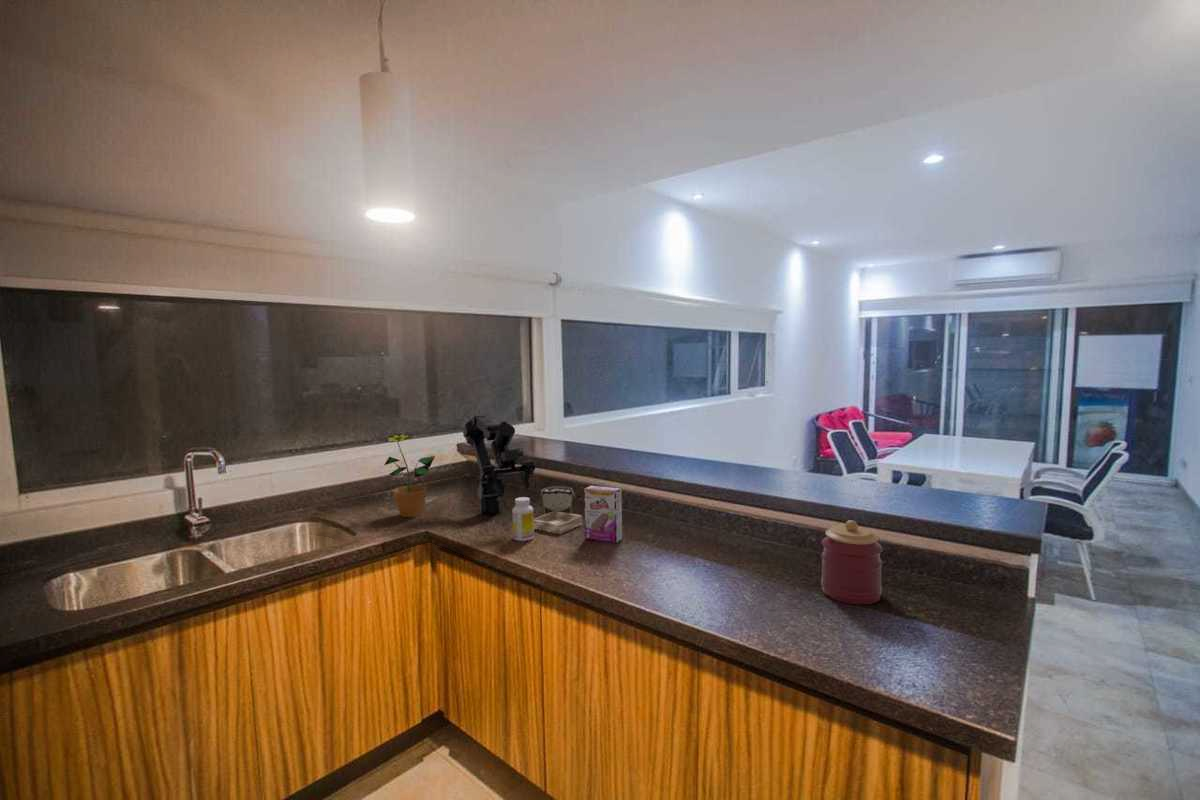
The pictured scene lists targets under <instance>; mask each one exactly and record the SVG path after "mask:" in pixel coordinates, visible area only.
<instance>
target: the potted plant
mask: <svg viewBox="0 0 1200 800" xmlns="http://www.w3.org/2000/svg"><path fill="white" fill-rule="evenodd" d="M409 436H410V435H409V434H407V433H406V434H405V433H399V434H394V435H389V436H388V437H387V438H386V439H385V442H390V443H397V445H398V447H399V448H398V449H399V451H400V453H401V456H402V458H403V459H402V460H403V461H404V465H405V466H402V467H401V466H399V465H398V464H397V463H396V462H400V461H401V460H400V459H397V458H395V457H391V456H389V457H388V458H387V460H386V461H385V463H384V466H386V465H390V464H392V463H393V464H395V466H396V467H397V469H395V470H393V471H392V472H390V473H389V474H388V476H395V477H396V475H398V474H400V473H402V472H403V471H405V470H406V472H407V477H408V485H404V486H398V487H395V488H394V489H392V491H391V492H392V494H393V497H394V500H395V503H396V505H397V508H398V511H399V514H400V517H402V518H403V517H409V519H410V517H412V518H417V516H418V517H420V516H422V514H423V510H424V504H425V500H426V495H427V490H428V486H427V485H424V484H423V485H422V484H411V476H412V474H414V478H415V479H416V478H419V477H422V476H424V475H428V474H429V473H430V472H429V468H431V467H432V466H431V465H432V464H433V461H434V460H435V457H436V456H435V455H431V456H427V457H421V458H419V459H418V460H417V463H416V465H415V466H414V469H413V470H412V472H411V473H410V471H409V467H408V464H407V461H406V459H405V456H404V454H403V452H402V449H401V447H400V443H399V442H400V441H405V440H407V439H408V437H409ZM418 463H421V464H423V465H422V466H419V467H417V466H418ZM419 515H420V516H419Z"/></svg>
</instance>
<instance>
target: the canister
mask: <svg viewBox="0 0 1200 800" xmlns="http://www.w3.org/2000/svg"><path fill="white" fill-rule="evenodd" d="M824 533H825V535H826V537H824V538H823V539H822V540H821V545H822V546H823V552H822V553H821V558H822V559H821V560H822V561H821V579H820V582H821V583H820V586H821V588H822V589H821V590H822V592H823V594H825V595H826V596H827V597H829V598H831V599H833V600H835V601H838V602H842V603H845V604H851V605H864V606H865V605H871V604H874V603H877V602H879V601H880V600H881V596H882V593H883V592H882V591H883V590H882V589H883V587H882V566H883V562H882V559H881V555H880V554H881V553H882V552H883V547H882V545H881V544H880V543H879V542H878V541H879V539H880V538H879V536H878V535H877V534H875V533H874V532H872V530H870V529H869V528H866V527H863V526H859V525H858V523H857V522H856V521H855V520H852V519H849V520H847V521H846V522H845V524H837V525H833V526H832V527H831V528H828V529H827V530H825V532H824Z"/></svg>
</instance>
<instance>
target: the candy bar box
mask: <svg viewBox="0 0 1200 800" xmlns="http://www.w3.org/2000/svg"><path fill="white" fill-rule="evenodd" d="M622 491H623V490H622V488H619V487H618V488H617V487H610V486H609V487H608V486H600V485H599V486H597V485H589V486H587V487H584V489H583V494H584V495H583V497H584V498H583V500H584V538H585V540H592V541H598V542H605V543H611V544H618V543H619V542H620V541H621V540H623V510H622V509H623V503H622V500H623V499H622V498H623V492H622Z"/></svg>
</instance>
